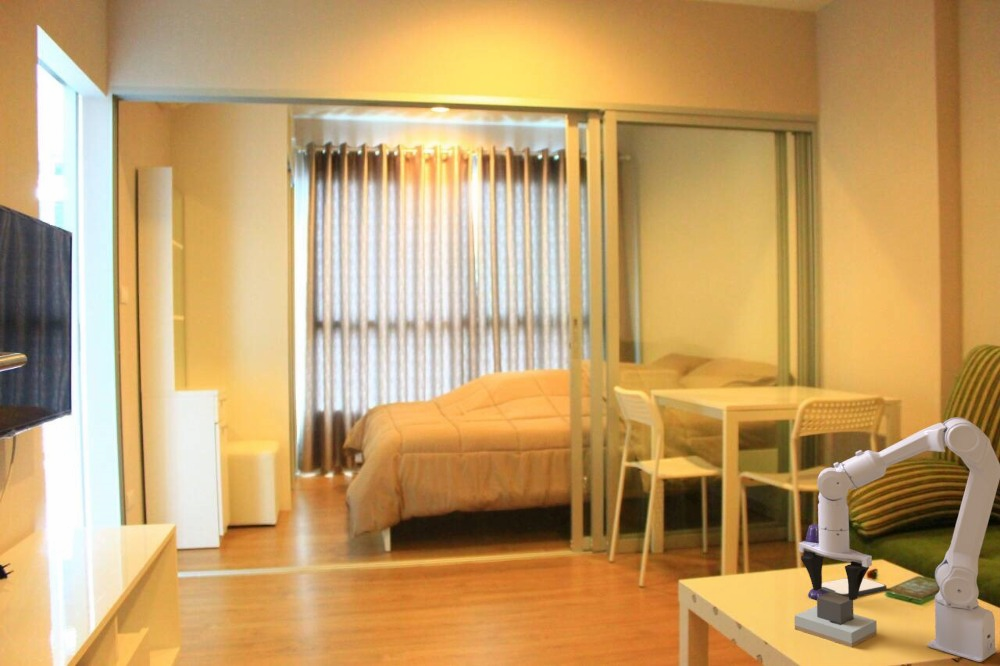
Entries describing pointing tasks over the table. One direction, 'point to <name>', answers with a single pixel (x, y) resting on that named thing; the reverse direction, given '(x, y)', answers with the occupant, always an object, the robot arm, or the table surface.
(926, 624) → the table surface
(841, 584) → the phone case
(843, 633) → the socket
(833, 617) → the plug
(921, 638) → the table surface
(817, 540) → the toy lamp
